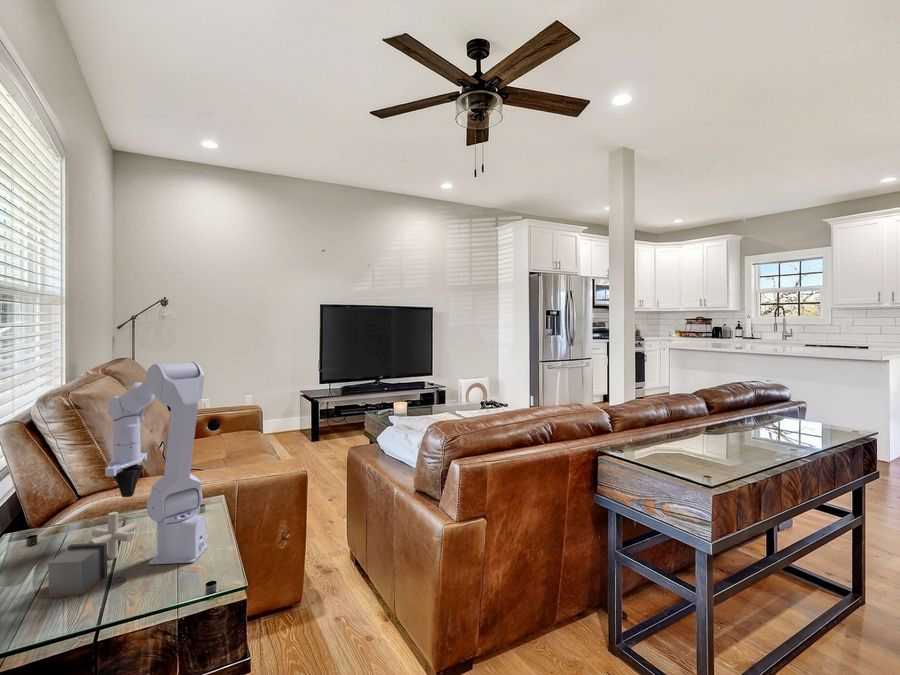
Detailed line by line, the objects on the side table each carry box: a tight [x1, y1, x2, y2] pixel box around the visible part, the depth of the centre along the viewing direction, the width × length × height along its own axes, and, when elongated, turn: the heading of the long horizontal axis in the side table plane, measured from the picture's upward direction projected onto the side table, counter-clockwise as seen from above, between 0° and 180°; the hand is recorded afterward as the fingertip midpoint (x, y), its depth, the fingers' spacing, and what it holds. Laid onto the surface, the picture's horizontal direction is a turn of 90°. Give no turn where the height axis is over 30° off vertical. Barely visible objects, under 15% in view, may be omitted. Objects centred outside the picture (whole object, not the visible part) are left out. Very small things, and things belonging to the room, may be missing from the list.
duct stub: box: [47, 542, 108, 598], centre depth 95 cm, size 7×7×7 cm
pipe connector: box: [87, 511, 137, 560], centre depth 107 cm, size 10×10×10 cm
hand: (127, 496), depth 120 cm, fingers closed
